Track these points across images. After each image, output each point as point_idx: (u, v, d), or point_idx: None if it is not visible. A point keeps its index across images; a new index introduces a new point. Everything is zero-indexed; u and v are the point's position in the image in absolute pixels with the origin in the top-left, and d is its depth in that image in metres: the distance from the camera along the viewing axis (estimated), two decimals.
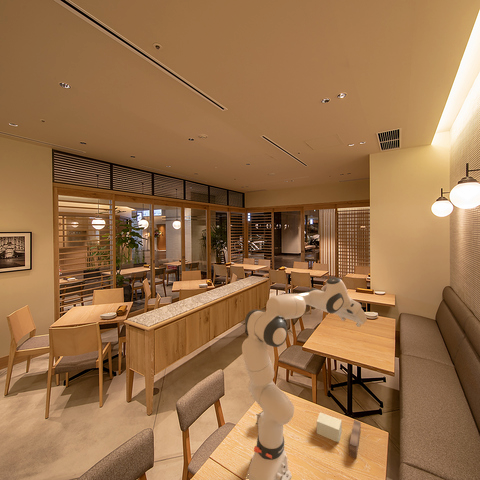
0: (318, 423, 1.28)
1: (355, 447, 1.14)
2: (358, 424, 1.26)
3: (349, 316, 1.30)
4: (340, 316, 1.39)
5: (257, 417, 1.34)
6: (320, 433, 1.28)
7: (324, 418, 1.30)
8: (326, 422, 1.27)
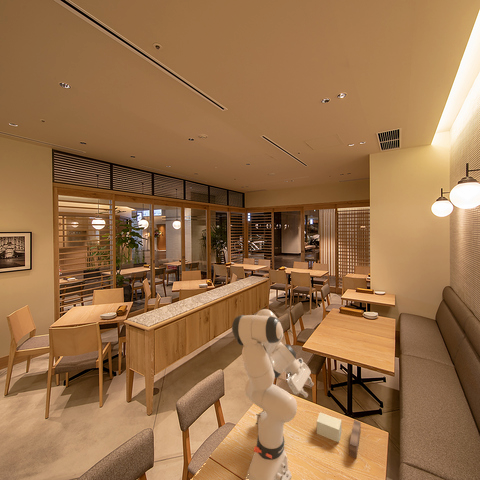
0: (318, 423, 1.28)
1: (355, 447, 1.14)
2: (358, 424, 1.26)
3: (304, 374, 1.37)
4: (303, 391, 1.29)
5: (257, 417, 1.35)
6: (320, 433, 1.28)
7: (324, 418, 1.30)
8: (326, 422, 1.27)
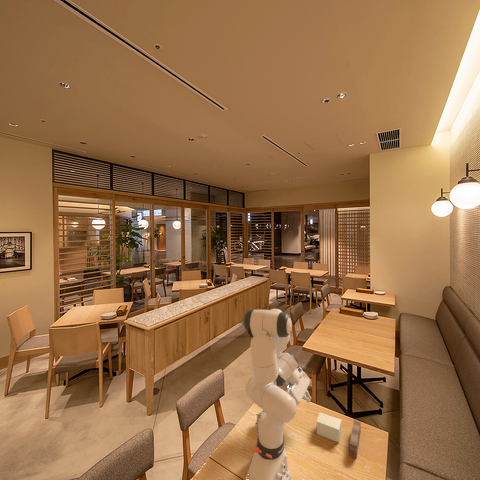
0: (318, 423, 1.28)
1: (355, 447, 1.14)
2: (358, 424, 1.26)
3: (303, 383, 1.37)
4: None
5: (257, 417, 1.34)
6: (320, 433, 1.28)
7: (324, 418, 1.30)
8: (326, 422, 1.27)
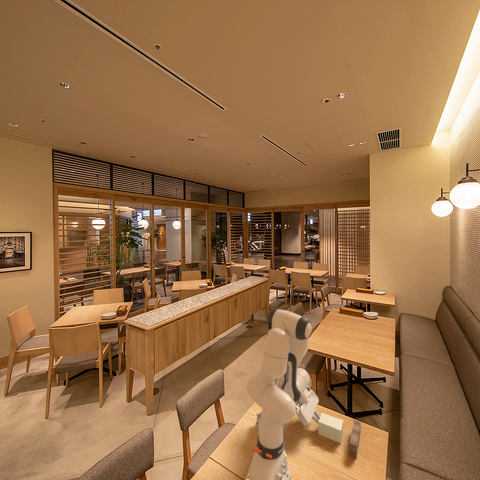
0: (320, 424, 1.27)
1: (355, 447, 1.14)
2: (358, 424, 1.26)
3: (312, 403, 1.35)
4: (315, 417, 1.31)
5: (257, 417, 1.35)
6: (322, 434, 1.27)
7: (326, 418, 1.30)
8: (328, 423, 1.26)
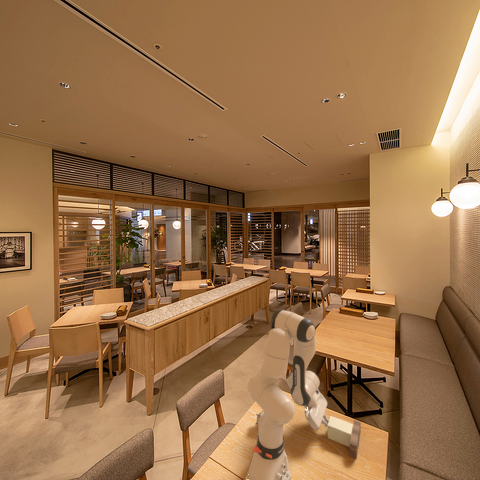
0: (329, 427, 1.25)
1: (355, 447, 1.14)
2: (358, 424, 1.26)
3: (321, 406, 1.33)
4: None
5: (257, 417, 1.35)
6: (331, 437, 1.25)
7: (335, 422, 1.27)
8: (338, 426, 1.24)
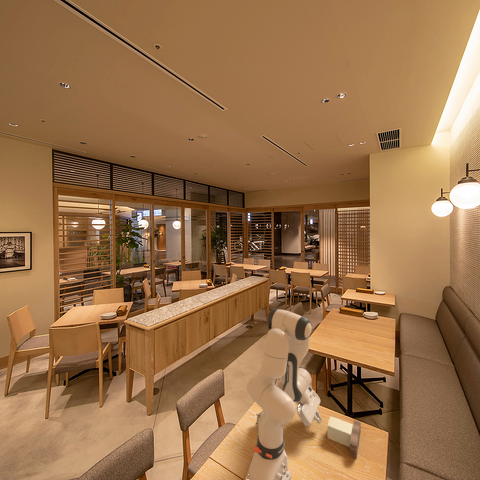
0: (329, 427, 1.25)
1: (355, 447, 1.14)
2: (358, 424, 1.26)
3: (314, 403, 1.35)
4: (316, 417, 1.30)
5: (257, 417, 1.35)
6: (331, 438, 1.25)
7: (335, 422, 1.27)
8: (338, 427, 1.24)
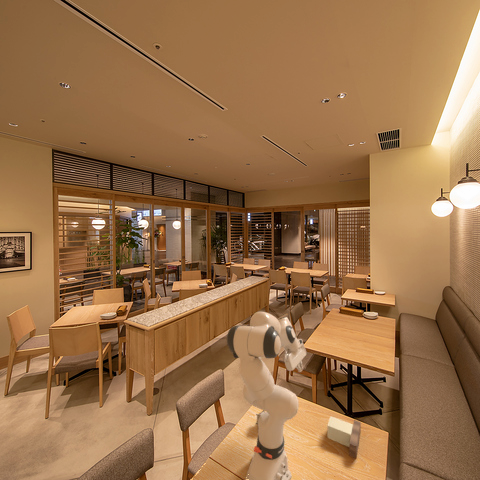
0: (329, 427, 1.25)
1: (355, 447, 1.14)
2: (358, 424, 1.26)
3: (300, 354, 1.38)
4: None
5: (257, 417, 1.35)
6: (331, 438, 1.25)
7: (335, 422, 1.27)
8: (338, 427, 1.24)
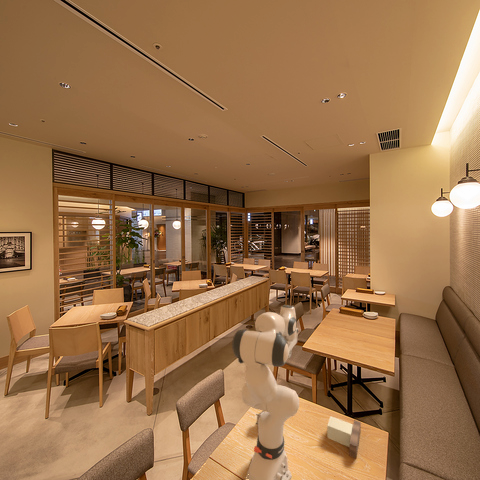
0: (329, 427, 1.25)
1: (355, 447, 1.14)
2: (358, 424, 1.26)
3: (293, 342, 1.41)
4: (288, 353, 1.39)
5: (257, 417, 1.35)
6: (331, 438, 1.25)
7: (335, 422, 1.27)
8: (338, 427, 1.24)
